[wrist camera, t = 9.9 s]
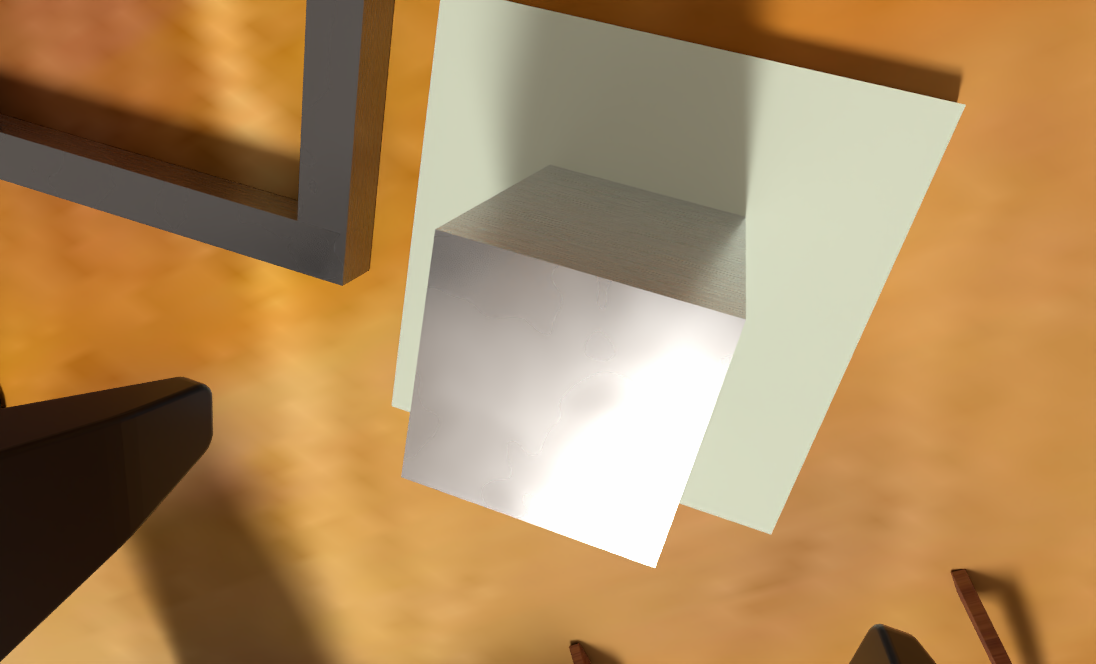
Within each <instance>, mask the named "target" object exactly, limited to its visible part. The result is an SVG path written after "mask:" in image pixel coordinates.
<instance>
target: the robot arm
mask: <svg viewBox="0 0 1096 664" xmlns="http://www.w3.org/2000/svg"><path fill="white" fill-rule="evenodd" d="M212 436H213V410H212V392H211V390H210V388H209V387H208V386H207V385H205V384H203V383H200V382H197V381H194V380H191V379H189V378H185V377H175V378H169V379H164V380H158V381H152V382H147V383H141V384H136V385H130V386H125V387H119V388H114V389H108V390H102V391H97V392H91V393H86V394H80V395H75V396H69V397H63V398H58V399H52V400H47V401H41V402H36V403H30V404H25V405H19V406H13V407H8V408H1V403H0V662H1V661H2V660H3V659H4V658H5V657H6V656H7V655H8V654H9V653H10V652H11V651H12V650H13V649H14V648H15V647H16V646H17V645H18V644H19V643H21V642H22V641H23V640H24V639H25V638H26V637H27V636H28V635H29V634H30V633H31V632H32V631H33V630H34V629H35V628H36V627H37V626H38V625H39V624H40V623H41V622H43V621H44V620H45V619H46V618H47V617H48V616H49V615H50V614H51V613H52V612H53V611H54V610H55V609H56V608H57V607H58V606H59V605H60V604H61V603H62V602H64V601H65V600H66V599H67V598H68V597H69V596H70V595H71V594H72V593H73V592H74V591H75V590H76V589H77V588H78V587H79V586H80V585H81V584H82V583H83V582H85V581H86V580H87V579H88V578H89V577H90V576H91V575H92V574H93V573H94V572H95V571H96V570H97V569H98V568H99V567H100V566H101V565H102V564H103V563H104V562H105V561H107V560H108V559H109V558H110V557H111V556H112V555H113V554H114V553H115V552H116V551H117V550H118V549H119V548H120V547H121V546H122V545H123V544H124V543H125V542H126V541H127V540H128V539H129V538H130V537H131V536H132V535H133V534H134V533H135V532H136V531H137V529H138V528H139V527H140V526H141V525H142V524H143V523H144V522H145V521H146V520H147V518H148V517H149V516H150V515H151V514H152V513H153V512H154V510H155V509H156V508H157V507H158V506H159V505H160V504H161V502H162V501H163V500H164V499H165V498H166V497H167V495H168V494H169V493H170V492H171V491H172V490H173V489H174V487H175V486H176V485H177V484H178V483H179V482H180V481H181V479H182V478H183V477H184V476H185V475H186V474H187V472H188V471H189V470H190V469H191V468H192V467H193V466H194V464H195V463H196V462H197V461H198V460H199V459H200V458H201V456H202V455H203V454H204V453H205V452H206V450H207V449H208V447H209V445H210V443H211V440H212ZM849 664H936V663H935V661H934V660H933V659H932V658H931V656H930V655H929V654H928V653H927V652H926V650H925V649H924V648H923V647H922V645H921V644H920V643H919V642H918V640H917V639H916V638H915V637H913V636H912V635H910V634H908V633H906V632H903V631H900V630H897V629H894V628H892V627H889V626H886V625H883V624H876V625H874V626H873V627H871V628H870V630H869V631H868V632H867V634H866V636H865V638H864V639H863V641H862V643H861V644H860V646H859V648H858V650H857V651H856V653H855V655H854V656H853V658H852V660H851V661H850V663H849Z"/></svg>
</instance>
